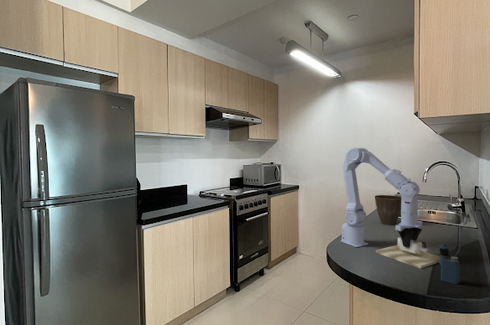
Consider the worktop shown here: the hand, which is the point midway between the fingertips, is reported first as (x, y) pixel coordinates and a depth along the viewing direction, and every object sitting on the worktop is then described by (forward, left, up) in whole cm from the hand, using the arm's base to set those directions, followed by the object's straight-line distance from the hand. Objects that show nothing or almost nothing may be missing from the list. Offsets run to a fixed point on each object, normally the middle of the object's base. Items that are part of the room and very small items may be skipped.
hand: (409, 246), depth 108 cm
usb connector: (+1, 0, -2) cm, 2 cm away
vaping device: (+19, -10, -4) cm, 22 cm away
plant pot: (-37, +41, -4) cm, 55 cm away
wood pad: (0, 0, -4) cm, 4 cm away
